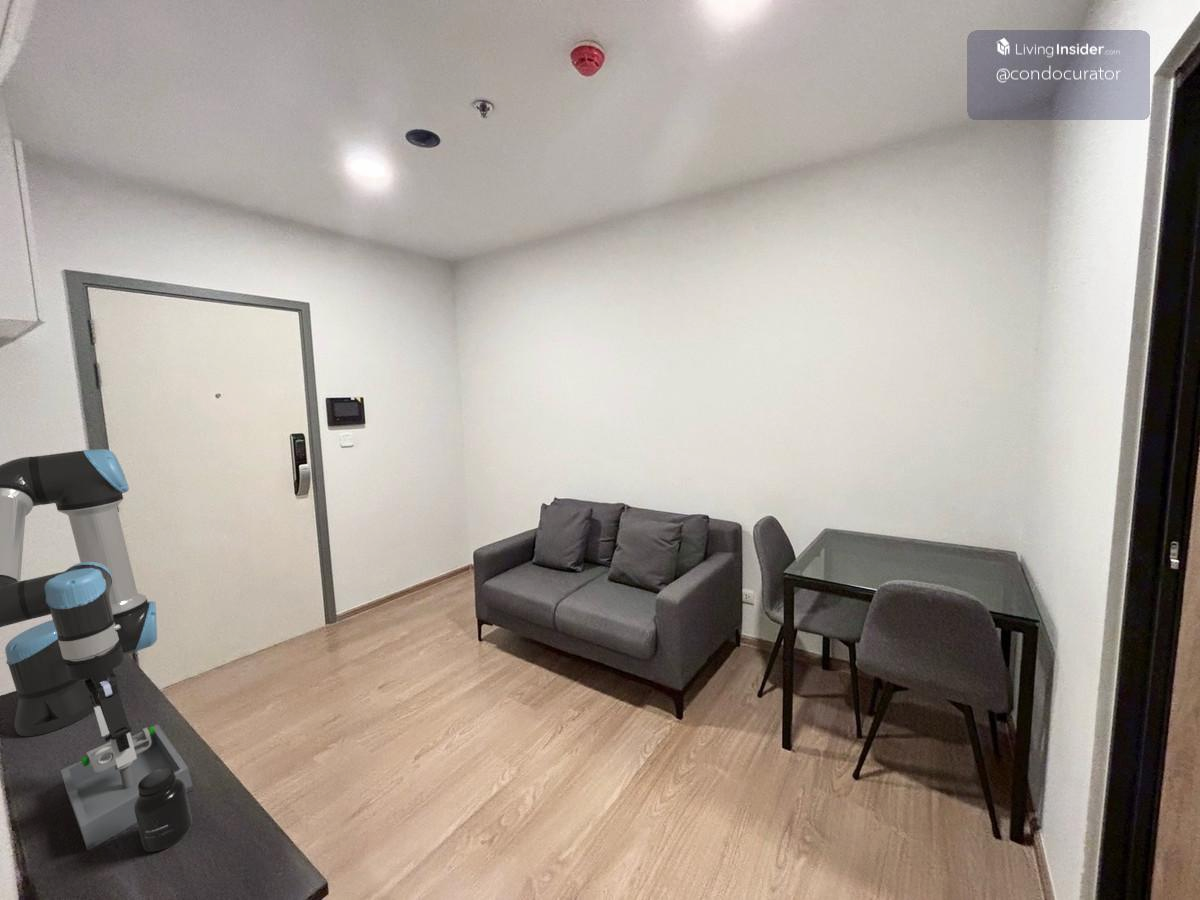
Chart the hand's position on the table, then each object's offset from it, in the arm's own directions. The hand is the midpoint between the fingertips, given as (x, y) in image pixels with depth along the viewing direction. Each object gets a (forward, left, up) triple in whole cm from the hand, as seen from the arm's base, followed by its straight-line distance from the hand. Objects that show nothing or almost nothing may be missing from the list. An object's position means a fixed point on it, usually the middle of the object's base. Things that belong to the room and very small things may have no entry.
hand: (118, 746), depth 97 cm
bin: (0, 0, -10) cm, 10 cm away
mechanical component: (0, 0, -9) cm, 9 cm away
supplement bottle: (+19, -5, -10) cm, 22 cm away
